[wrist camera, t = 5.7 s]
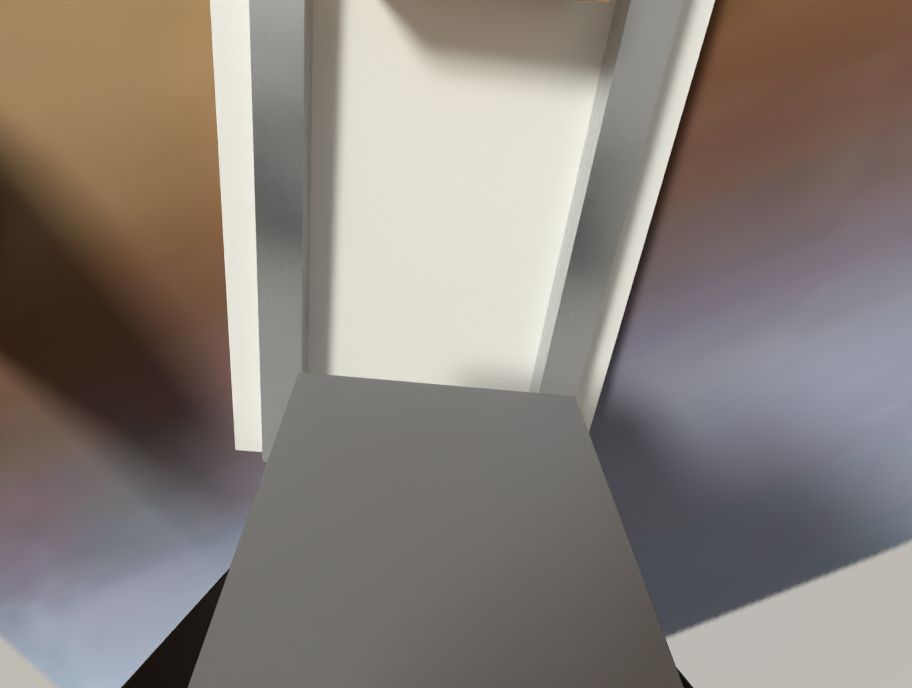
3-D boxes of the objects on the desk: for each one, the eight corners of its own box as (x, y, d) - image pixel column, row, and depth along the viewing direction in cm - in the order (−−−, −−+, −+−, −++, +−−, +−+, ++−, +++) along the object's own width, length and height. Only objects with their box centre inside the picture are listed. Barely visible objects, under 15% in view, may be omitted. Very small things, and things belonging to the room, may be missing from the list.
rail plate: (569, 453, 19) (600, 553, 16) (244, 428, 18) (201, 529, 15) (753, -206, 12) (892, -292, 8) (210, -310, 11) (104, -458, 7)
